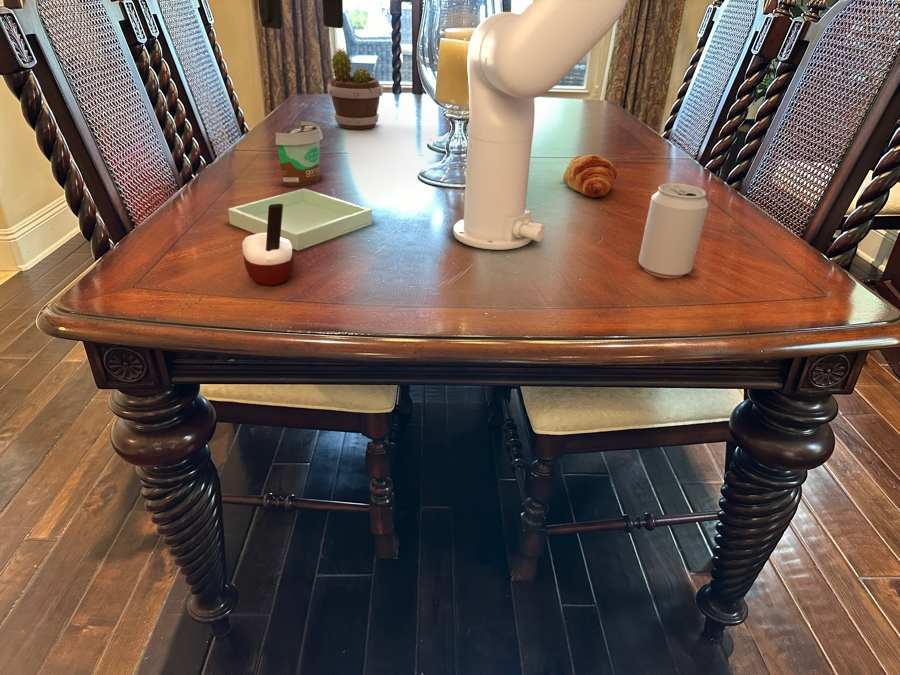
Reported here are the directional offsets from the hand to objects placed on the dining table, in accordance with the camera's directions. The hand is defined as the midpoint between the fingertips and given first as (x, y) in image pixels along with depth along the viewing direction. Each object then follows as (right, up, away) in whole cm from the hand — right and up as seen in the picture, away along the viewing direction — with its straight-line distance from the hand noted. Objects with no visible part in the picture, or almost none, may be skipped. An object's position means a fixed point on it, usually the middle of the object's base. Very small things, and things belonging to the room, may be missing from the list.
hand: (303, 27), depth 77 cm
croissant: (+46, -9, +46) cm, 66 cm away
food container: (-10, -8, +43) cm, 45 cm away
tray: (-6, -21, +22) cm, 31 cm away
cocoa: (-5, -32, +3) cm, 33 cm away
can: (+49, -30, +12) cm, 59 cm away
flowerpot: (-7, +18, +89) cm, 91 cm away
